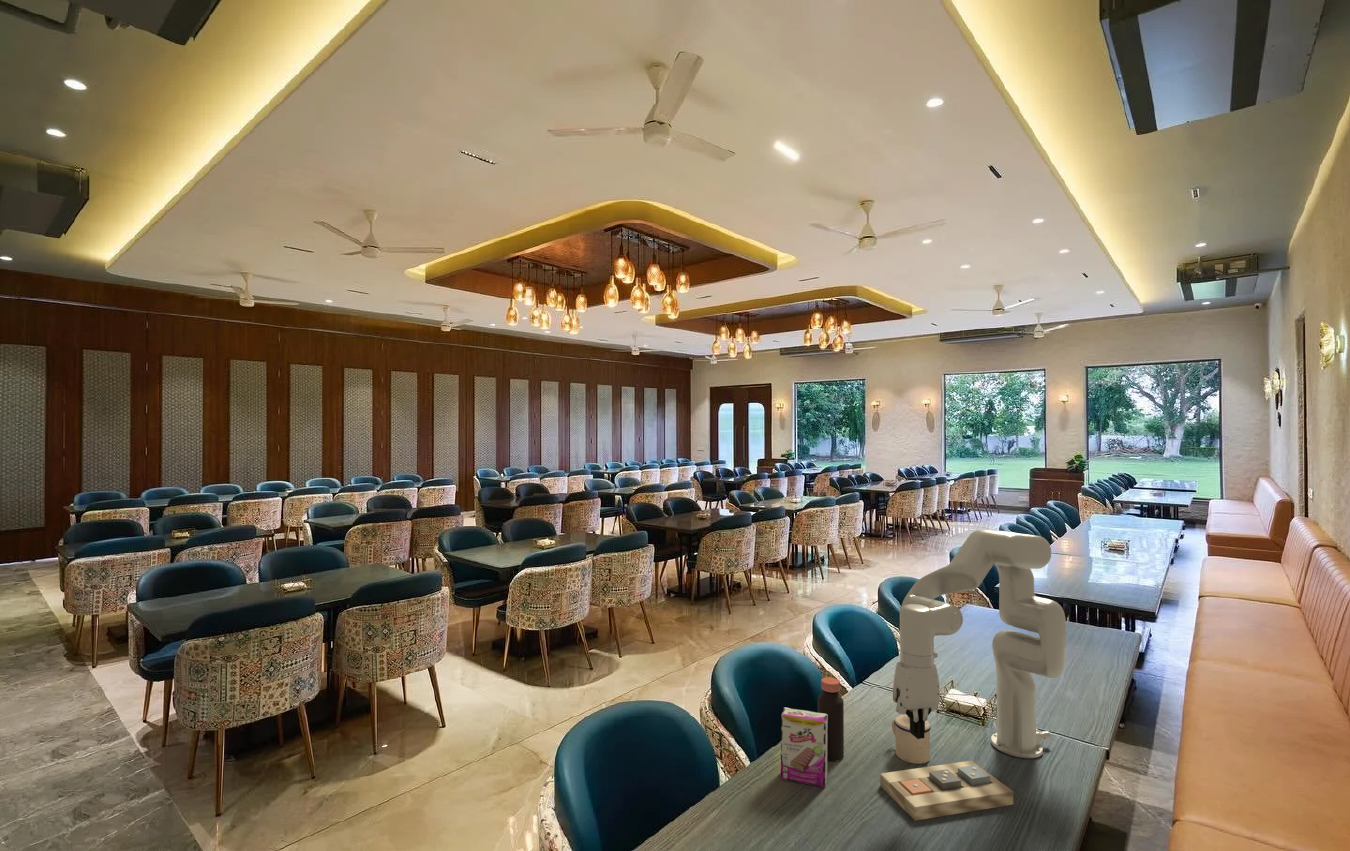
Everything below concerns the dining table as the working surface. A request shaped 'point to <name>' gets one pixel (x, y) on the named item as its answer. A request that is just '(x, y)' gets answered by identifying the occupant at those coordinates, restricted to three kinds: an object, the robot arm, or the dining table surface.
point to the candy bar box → (804, 746)
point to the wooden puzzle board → (944, 793)
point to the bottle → (833, 717)
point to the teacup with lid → (911, 741)
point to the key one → (915, 787)
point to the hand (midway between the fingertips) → (917, 735)
